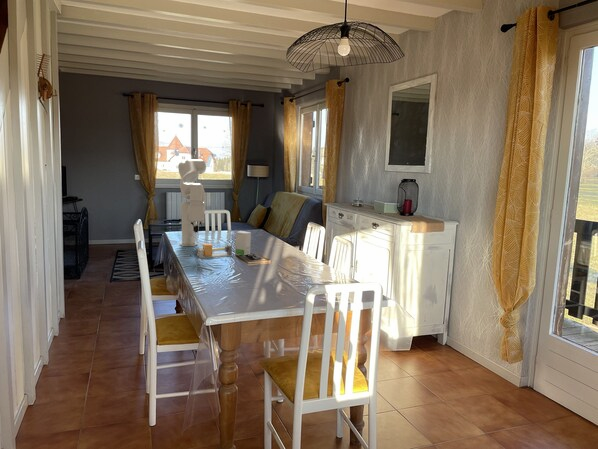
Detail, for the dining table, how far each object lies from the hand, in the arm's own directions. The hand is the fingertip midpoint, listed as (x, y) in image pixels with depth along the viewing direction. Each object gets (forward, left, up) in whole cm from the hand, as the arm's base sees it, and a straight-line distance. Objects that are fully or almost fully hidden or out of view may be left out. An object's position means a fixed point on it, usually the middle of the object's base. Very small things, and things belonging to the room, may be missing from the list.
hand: (196, 232), depth 285 cm
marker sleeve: (0, +8, -16) cm, 18 cm away
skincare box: (+3, +31, -16) cm, 35 cm away
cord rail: (0, +13, -16) cm, 20 cm away
